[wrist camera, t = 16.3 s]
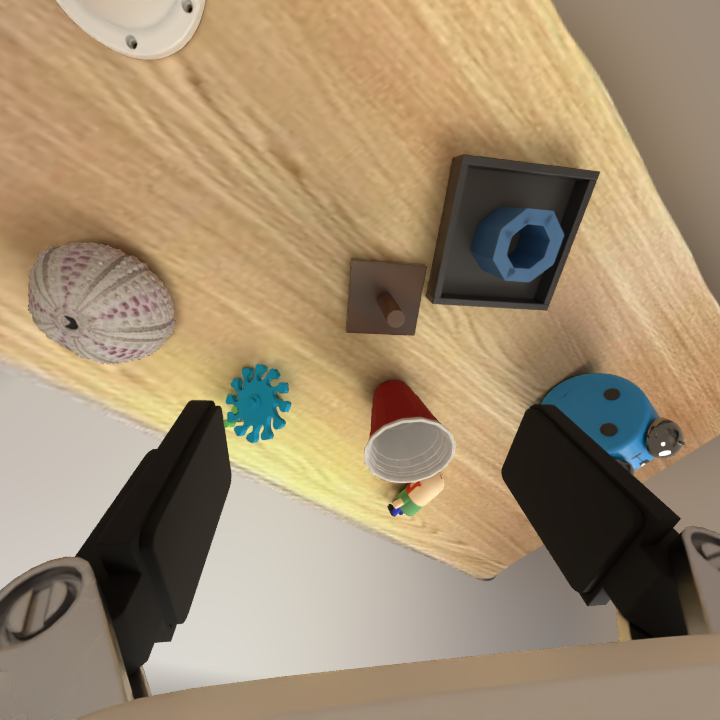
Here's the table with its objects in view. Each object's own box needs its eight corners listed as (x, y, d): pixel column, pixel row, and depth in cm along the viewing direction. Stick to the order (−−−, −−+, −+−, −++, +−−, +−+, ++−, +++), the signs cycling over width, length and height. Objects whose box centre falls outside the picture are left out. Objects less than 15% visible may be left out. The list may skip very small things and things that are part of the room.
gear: (269, 349, 39) (294, 424, 36) (297, 356, 44) (320, 421, 41) (208, 387, 42) (227, 458, 39) (241, 389, 47) (259, 451, 44)
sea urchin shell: (199, 342, 39) (171, 374, 32) (91, 358, 39) (39, 394, 31) (153, 230, 33) (106, 239, 26) (24, 248, 32) (-61, 262, 25)
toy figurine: (403, 497, 60) (444, 460, 55) (415, 520, 57) (459, 483, 53) (375, 502, 55) (417, 462, 50) (386, 528, 52) (433, 487, 47)
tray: (452, 157, 32) (463, 154, 30) (580, 173, 34) (600, 171, 32) (426, 297, 39) (432, 303, 37) (534, 303, 41) (547, 310, 39)
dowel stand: (351, 258, 36) (357, 272, 29) (424, 264, 37) (446, 278, 31) (345, 329, 40) (350, 356, 34) (412, 332, 41) (429, 358, 35)
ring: (481, 205, 34) (507, 206, 29) (538, 210, 35) (572, 212, 30) (466, 268, 37) (487, 279, 33) (518, 272, 38) (547, 283, 34)
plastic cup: (341, 410, 46) (346, 472, 36) (380, 353, 42) (398, 404, 32) (400, 434, 50) (420, 498, 39) (440, 384, 46) (475, 439, 35)
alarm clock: (537, 429, 52) (609, 507, 39) (518, 410, 50) (588, 486, 37) (607, 378, 49) (712, 446, 35) (590, 356, 46) (696, 419, 33)
